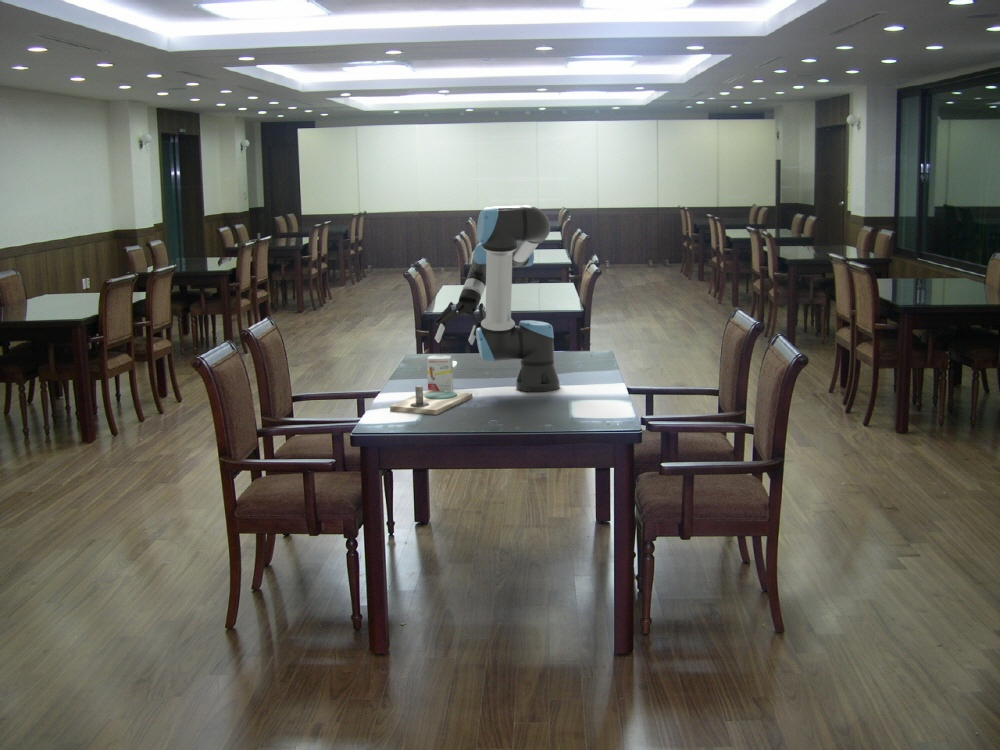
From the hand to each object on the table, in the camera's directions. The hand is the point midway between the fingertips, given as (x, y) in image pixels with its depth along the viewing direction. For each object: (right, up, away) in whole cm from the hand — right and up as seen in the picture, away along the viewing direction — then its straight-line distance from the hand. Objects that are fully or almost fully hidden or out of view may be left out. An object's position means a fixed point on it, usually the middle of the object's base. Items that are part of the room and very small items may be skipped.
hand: (453, 341), depth 374 cm
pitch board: (-6, -21, -28) cm, 36 cm away
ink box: (-4, -17, -7) cm, 19 cm away
